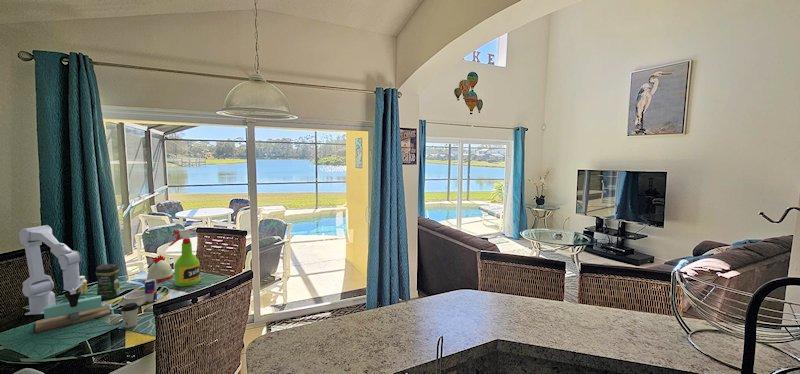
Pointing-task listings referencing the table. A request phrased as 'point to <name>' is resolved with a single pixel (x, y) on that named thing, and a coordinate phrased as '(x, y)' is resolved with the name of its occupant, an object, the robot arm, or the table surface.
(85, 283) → the supplement bottle
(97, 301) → the batten
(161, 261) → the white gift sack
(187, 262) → the spray bottle
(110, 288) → the coffee jar
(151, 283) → the energy drink
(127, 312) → the coffee cup
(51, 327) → the balance board
